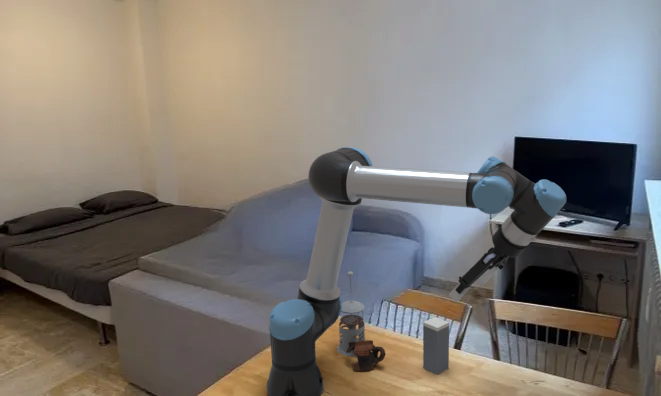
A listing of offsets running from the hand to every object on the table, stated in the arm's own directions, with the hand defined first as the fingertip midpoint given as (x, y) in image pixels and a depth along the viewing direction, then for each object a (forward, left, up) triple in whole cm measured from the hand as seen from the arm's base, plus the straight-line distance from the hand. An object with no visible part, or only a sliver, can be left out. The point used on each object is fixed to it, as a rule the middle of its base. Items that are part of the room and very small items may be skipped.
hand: (466, 289), depth 139 cm
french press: (-34, -10, -26) cm, 44 cm away
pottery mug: (-24, -14, -26) cm, 38 cm away
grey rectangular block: (-9, -1, -26) cm, 28 cm away
